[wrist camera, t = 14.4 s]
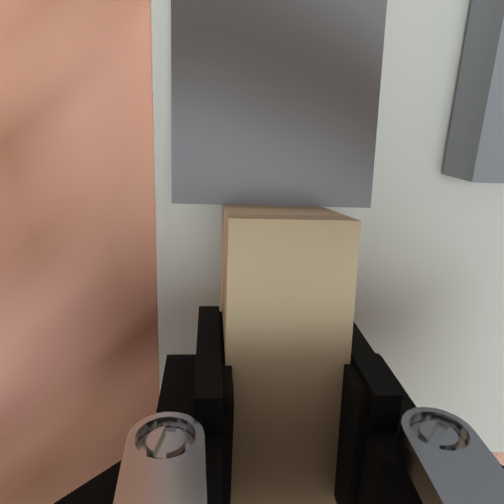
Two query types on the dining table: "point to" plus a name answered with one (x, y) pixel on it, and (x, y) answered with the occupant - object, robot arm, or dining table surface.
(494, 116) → the tile
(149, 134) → the dining table surface
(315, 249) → the turner
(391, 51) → the mat
